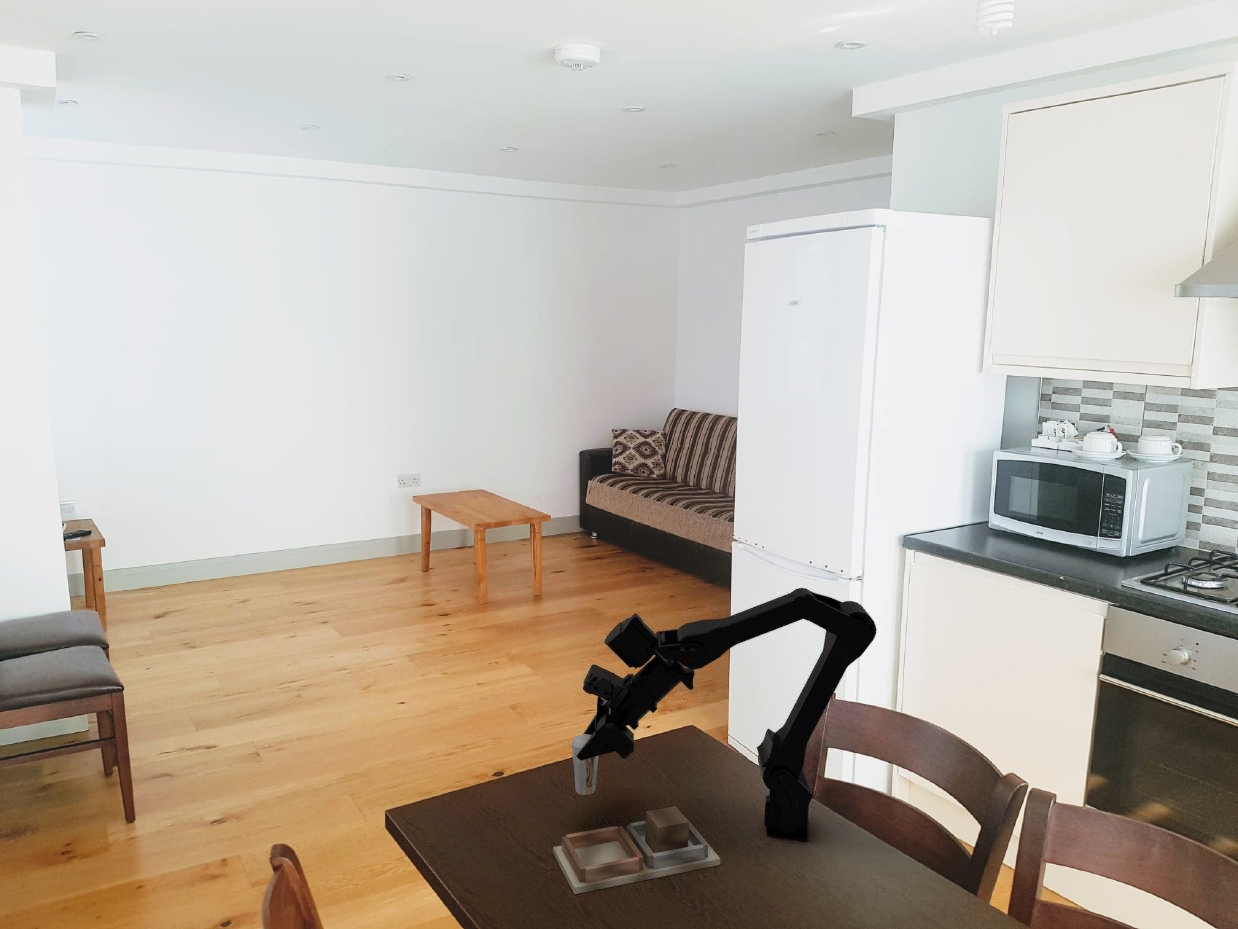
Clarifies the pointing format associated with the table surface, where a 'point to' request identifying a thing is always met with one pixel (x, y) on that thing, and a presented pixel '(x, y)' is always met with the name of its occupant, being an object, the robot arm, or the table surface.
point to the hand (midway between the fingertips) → (579, 751)
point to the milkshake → (584, 767)
